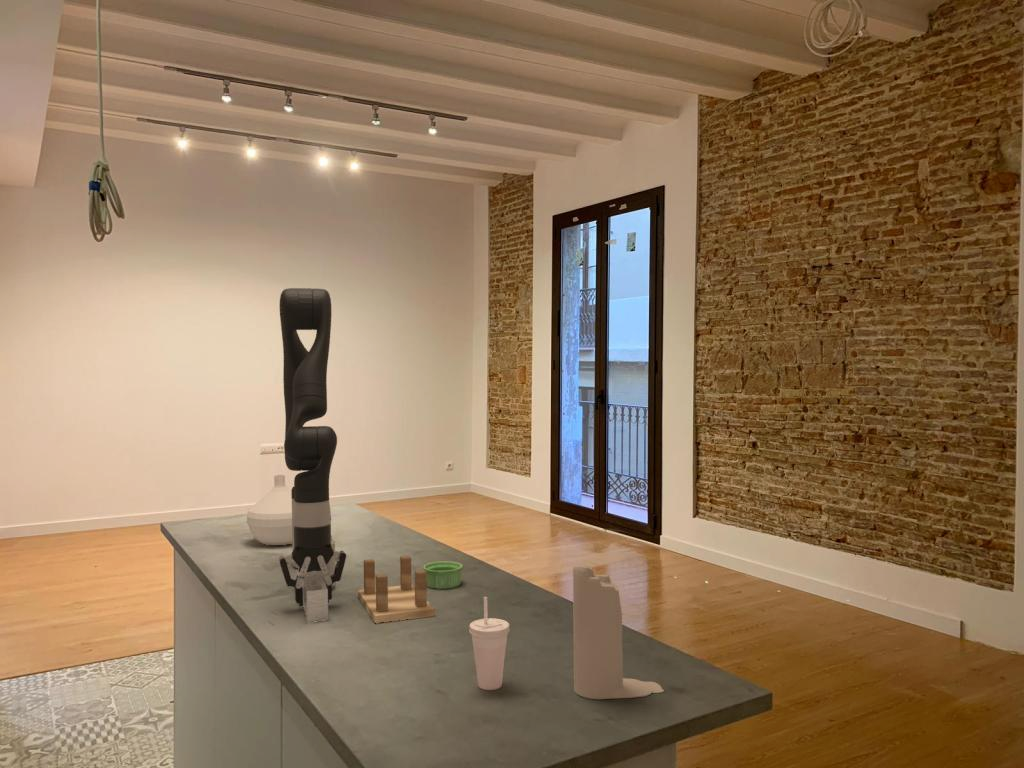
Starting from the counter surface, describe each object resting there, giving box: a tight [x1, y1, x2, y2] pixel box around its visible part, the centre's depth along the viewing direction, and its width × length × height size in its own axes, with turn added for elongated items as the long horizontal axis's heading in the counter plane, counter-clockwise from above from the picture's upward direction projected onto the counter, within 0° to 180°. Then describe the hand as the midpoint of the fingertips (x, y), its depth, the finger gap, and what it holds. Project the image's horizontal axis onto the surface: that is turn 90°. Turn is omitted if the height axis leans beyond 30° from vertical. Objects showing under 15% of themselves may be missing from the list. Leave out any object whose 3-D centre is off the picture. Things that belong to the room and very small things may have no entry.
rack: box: [357, 555, 435, 624], centre depth 167 cm, size 19×12×8 cm, turn 21°
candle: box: [572, 563, 665, 700], centre depth 124 cm, size 7×14×20 cm, turn 95°
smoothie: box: [469, 596, 510, 691], centre depth 126 cm, size 6×6×14 cm
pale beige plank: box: [302, 571, 329, 623], centre depth 166 cm, size 18×4×6 cm, turn 19°
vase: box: [246, 474, 292, 546], centre depth 228 cm, size 18×18×19 cm
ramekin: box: [422, 560, 463, 590], centre depth 183 cm, size 9×9×4 cm
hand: (313, 603), depth 166 cm, fingers open, 4 cm apart
